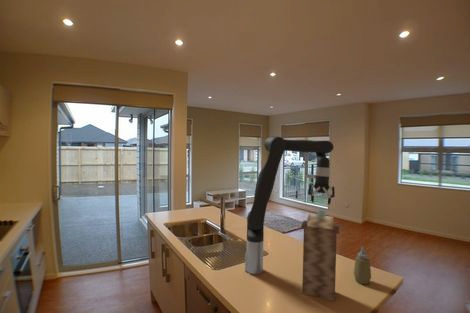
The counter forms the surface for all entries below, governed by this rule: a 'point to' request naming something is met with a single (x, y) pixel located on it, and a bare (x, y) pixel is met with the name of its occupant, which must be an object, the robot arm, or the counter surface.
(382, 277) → the counter surface
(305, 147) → the robot arm
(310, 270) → the stand
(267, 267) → the counter surface
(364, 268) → the squeeze bottle
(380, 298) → the counter surface
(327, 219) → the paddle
